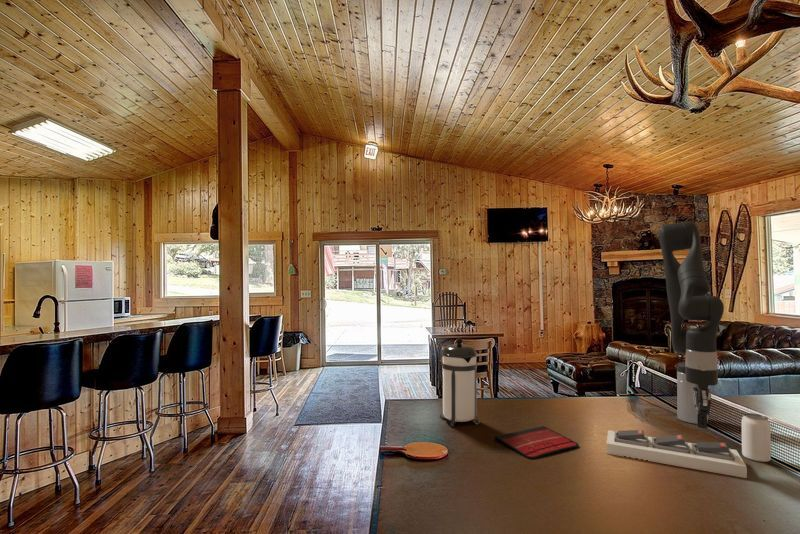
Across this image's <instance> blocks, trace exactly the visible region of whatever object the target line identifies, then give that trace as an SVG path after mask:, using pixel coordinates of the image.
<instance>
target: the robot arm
mask: <svg viewBox="0 0 800 534" xmlns="http://www.w3.org/2000/svg"><path fill="white" fill-rule="evenodd" d="M658 239H659V244H660V250H661V254H662V258H663V259H662V260H663V267H664V274H665V285H666V294H667V302H668V306H669V307H668V308H669V314H670V315H669V316H670V329H671V330H670V331H671V333H670V334H671V345H672V348H673V350H674V351H675V352H676V353H680V354H685V361H682V362H678V363H677V365H676V387H677V388H676V389H677V390H676V391H677V392H676V394H677V395H676V396H677V397H676V398H677V399H676V400H677V402H676V403H677V406H676V407H677V412H676V413H677V416H676V417H677V419H679V420H680V421H682V422H686V423H690V424H696V426H697V427H698V428H701V429H707V428H708V423H709V415H710V411H711V404H712V401H711V398H712V391H710V389H709V387H710V386H712V387H713V386H717V385H718V384H719V373H718V372H719V365H718V364H719V363H718V354H717V336H718V335H717V334H718V329H719V328H720V327H719V326H720V323H721V320H722V317H723V315H724V312H725V305H724V303H723V301H722V299H721V298H720V297H718V296H717V295H707V294H708V293H709V292H710V285H709V281H708V278H707V275H706V270H705V266H704V258H703V257H704V255H703V249H702V242H701V234H700V231H699V228H698V226H697V224H696V223H695V221H691V220H689V221H682V222H681V221H680V222H675V223H669V224H668V223H667V224H664V225H661V226H660V228H659V231H658ZM685 250H689V252H688V253H687V255H686V257H685V258H684V260H683V261H682V262H681V263H680V262H679V261H678V259H677V258H676V257H675V255H674V253H673V252H677V251H678V252H679V251H685ZM685 320H688V321H706V322H705V323H704V325H702V326H700V327H694V328H690V327H683V323H684V321H685Z"/></svg>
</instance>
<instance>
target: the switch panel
mask: <svg viewBox="0 0 800 534" xmlns="http://www.w3.org/2000/svg"><path fill="white" fill-rule="evenodd" d="M656 438H657V437H655V436H654V437H653V436H647V435H645V439H619V438H618V431H614V430H609V429H608V430H607V437H606V454H608V455H613V456H620V457H624V456H626V457H625V458H629V457H631V458H630V459H635V458H638V459H637V460H641V459H643V460H642V461H646V460H648V462H651V463H652V462H654V463H659V464H665V465H669V466H676V467H679V468H680V467H681V468H687V469H692V470H698V471H704V472H709V473H715V474H721V475H727V476H733V477H738V478H743V479H747V478H748V474H747V473H748V470H747V467H748V466H747V465H746V463H745V462H744V460H743V459H742V456H740V453H739V452H738V450H737V449H733V448H729V453H720V452H699V451H698V449H697V446H696V443H692V442H686V441H685V444H681V445H672V446H661V445H657V442H656Z"/></svg>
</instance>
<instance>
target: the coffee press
mask: <svg viewBox="0 0 800 534" xmlns="http://www.w3.org/2000/svg"><path fill="white" fill-rule="evenodd" d="M455 342H456V343H454V344H448V345H446V346H444V348H443V349H442V351H441V355H442V362H441V363H442V364H441V367H442V412H441V413H440V415H439V418H440V419H444V418H445V419H447V420H449V421H450V425H449V426H450V428H455V427H456V424H457V422H458V423H459V422H460V423H462V422H463V423H465V422H469V421H472V422H473V423H474V424H475V425H479V424H480V423H481V421H480V418H479V417H478V414H477V413H478V411H477V409H478V407H477V405H478V403H477V402H478V401H477V397H478V396H477V394H478V393H477V385H478V384H477V383H478V382H477V380H478V379H477V375H478V373H477V368H478V366H477V365H478V363H477V356H478V352H477V351H476V349H475V347H473V346H471V345H469V344H462V343H463V339H462V338H460V337H459V338H457V339H456V340H455ZM442 415H443V416H442ZM475 419H476V420H475Z"/></svg>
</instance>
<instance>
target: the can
mask: <svg viewBox="0 0 800 534" xmlns="http://www.w3.org/2000/svg"><path fill="white" fill-rule="evenodd" d="M771 443H772V442H771V423H770V421H769V417H768V416H765V415H762V414H758V413H750V412H744V413H743V415H742V417H741V455H742V456H743V457H744V458H745V459H748V460H751V461H754V462H760V463H768V462H770V461H771V459H772V451H771V449H772V448H771V446H772V445H771Z"/></svg>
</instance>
